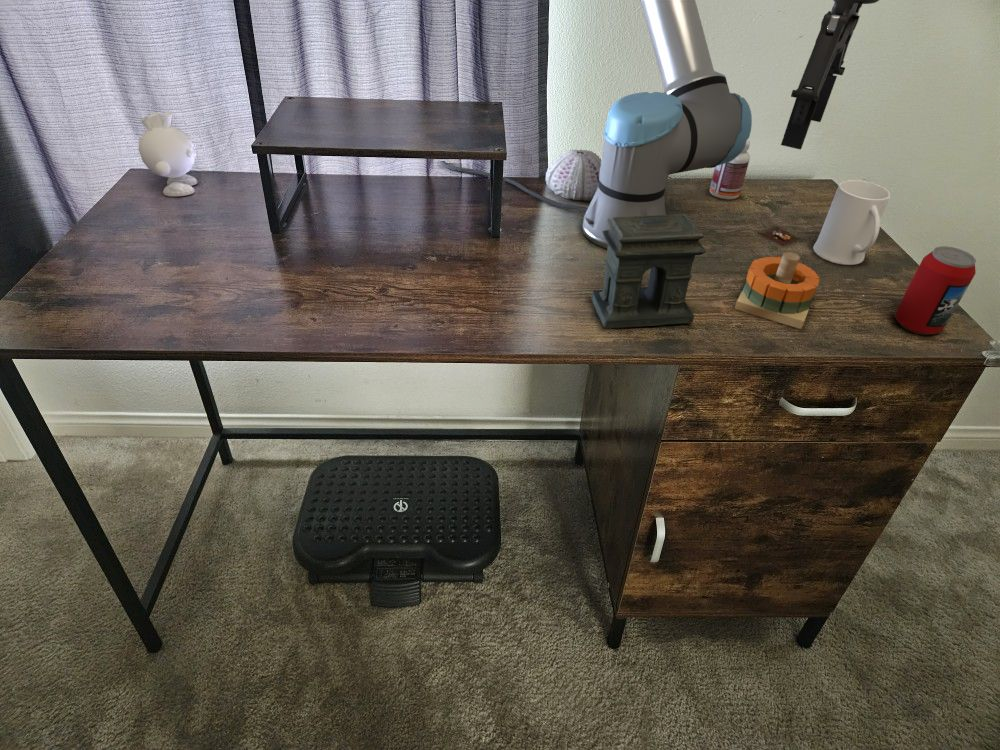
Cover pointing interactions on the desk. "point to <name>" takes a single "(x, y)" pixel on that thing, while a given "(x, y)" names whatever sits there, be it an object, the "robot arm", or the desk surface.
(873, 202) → the mug
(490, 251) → the desk surface
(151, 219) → the desk surface
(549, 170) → the sea urchin shell
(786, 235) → the diorama
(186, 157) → the white cartoon figurine
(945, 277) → the beverage can
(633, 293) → the model
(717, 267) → the desk surface
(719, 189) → the pill bottle
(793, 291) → the orange ring
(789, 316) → the stacker
